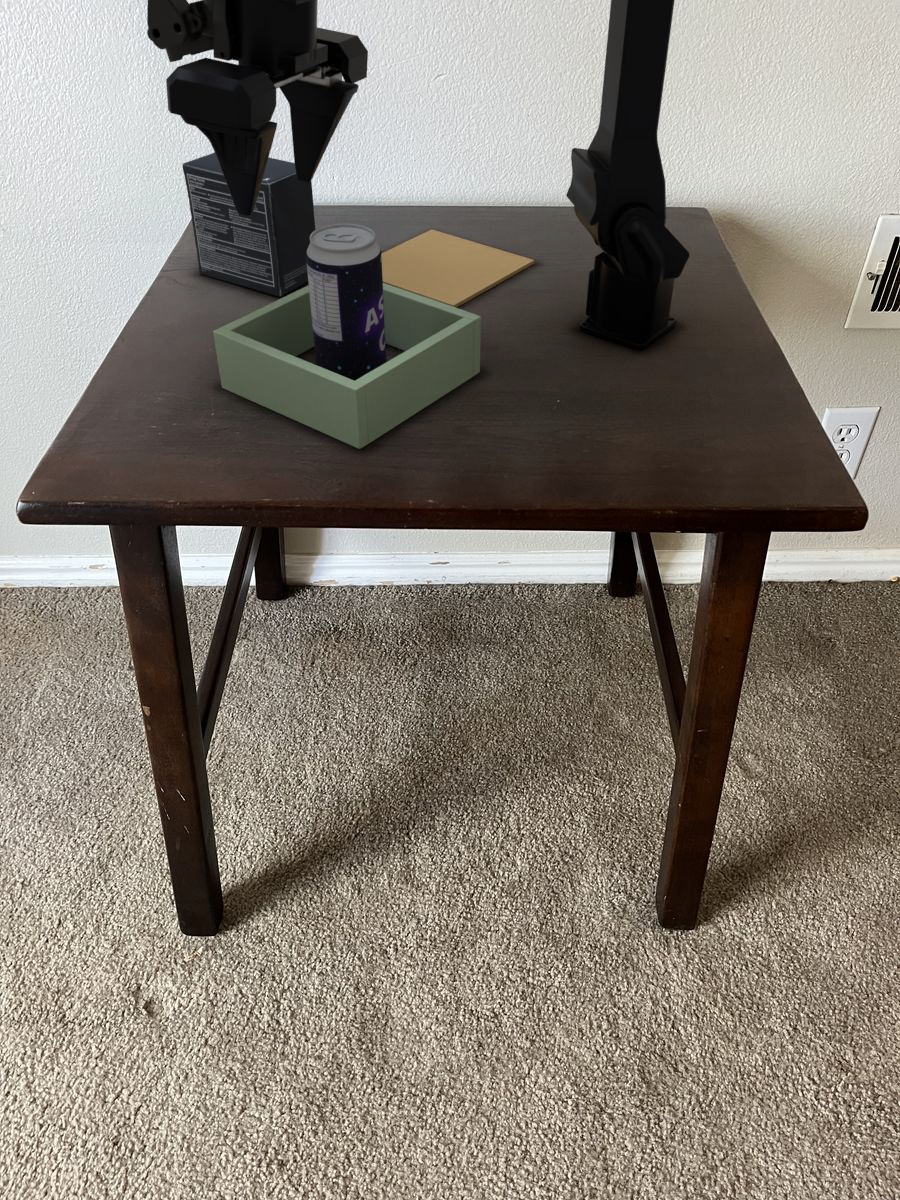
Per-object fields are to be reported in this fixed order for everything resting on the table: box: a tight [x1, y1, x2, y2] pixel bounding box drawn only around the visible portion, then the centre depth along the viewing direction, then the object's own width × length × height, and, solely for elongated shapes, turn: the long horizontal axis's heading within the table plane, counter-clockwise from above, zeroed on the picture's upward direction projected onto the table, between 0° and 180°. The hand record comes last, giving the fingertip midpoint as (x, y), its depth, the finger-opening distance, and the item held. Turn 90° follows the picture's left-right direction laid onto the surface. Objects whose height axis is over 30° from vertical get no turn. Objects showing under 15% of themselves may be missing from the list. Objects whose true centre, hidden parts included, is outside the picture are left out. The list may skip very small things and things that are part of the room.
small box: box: [182, 152, 316, 298], centre depth 98 cm, size 11×6×10 cm, turn 58°
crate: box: [212, 283, 482, 450], centre depth 84 cm, size 15×15×5 cm
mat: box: [381, 229, 535, 308], centre depth 102 cm, size 13×13×1 cm
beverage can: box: [306, 223, 387, 381], centre depth 81 cm, size 6×6×12 cm
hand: (275, 196), depth 79 cm, fingers open, 9 cm apart
